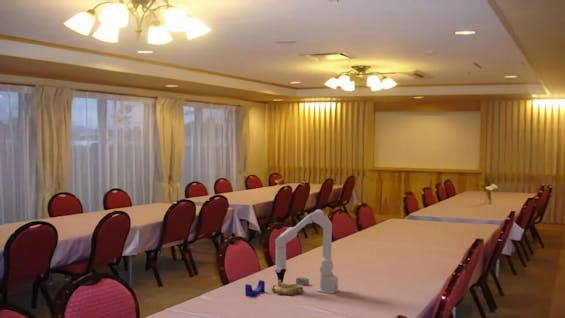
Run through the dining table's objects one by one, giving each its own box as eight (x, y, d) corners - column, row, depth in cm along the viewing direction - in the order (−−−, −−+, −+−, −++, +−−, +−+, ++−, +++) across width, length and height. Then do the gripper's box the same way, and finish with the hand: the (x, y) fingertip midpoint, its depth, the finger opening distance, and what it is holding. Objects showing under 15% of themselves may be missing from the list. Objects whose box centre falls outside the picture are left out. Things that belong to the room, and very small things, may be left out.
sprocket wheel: (308, 289, 303) (308, 280, 303) (292, 296, 289) (292, 287, 289) (282, 284, 312) (282, 276, 312) (265, 291, 298) (265, 282, 298)
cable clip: (251, 297, 290) (251, 286, 289) (245, 296, 292) (245, 284, 292) (266, 292, 299) (266, 281, 299) (260, 291, 302) (260, 280, 302)
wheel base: (303, 290, 303) (303, 289, 303) (291, 296, 292) (291, 295, 292) (283, 286, 310) (283, 286, 310) (270, 292, 299) (270, 291, 299)
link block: (308, 285, 315) (308, 278, 315) (304, 286, 312) (304, 280, 312) (300, 283, 319) (300, 276, 319) (296, 284, 316) (296, 278, 316)
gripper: (276, 254, 314) (276, 278, 315) (271, 260, 300) (271, 285, 301) (288, 255, 313) (288, 279, 313) (283, 261, 299) (283, 286, 299)
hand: (280, 282), depth 307 cm, fingers closed
